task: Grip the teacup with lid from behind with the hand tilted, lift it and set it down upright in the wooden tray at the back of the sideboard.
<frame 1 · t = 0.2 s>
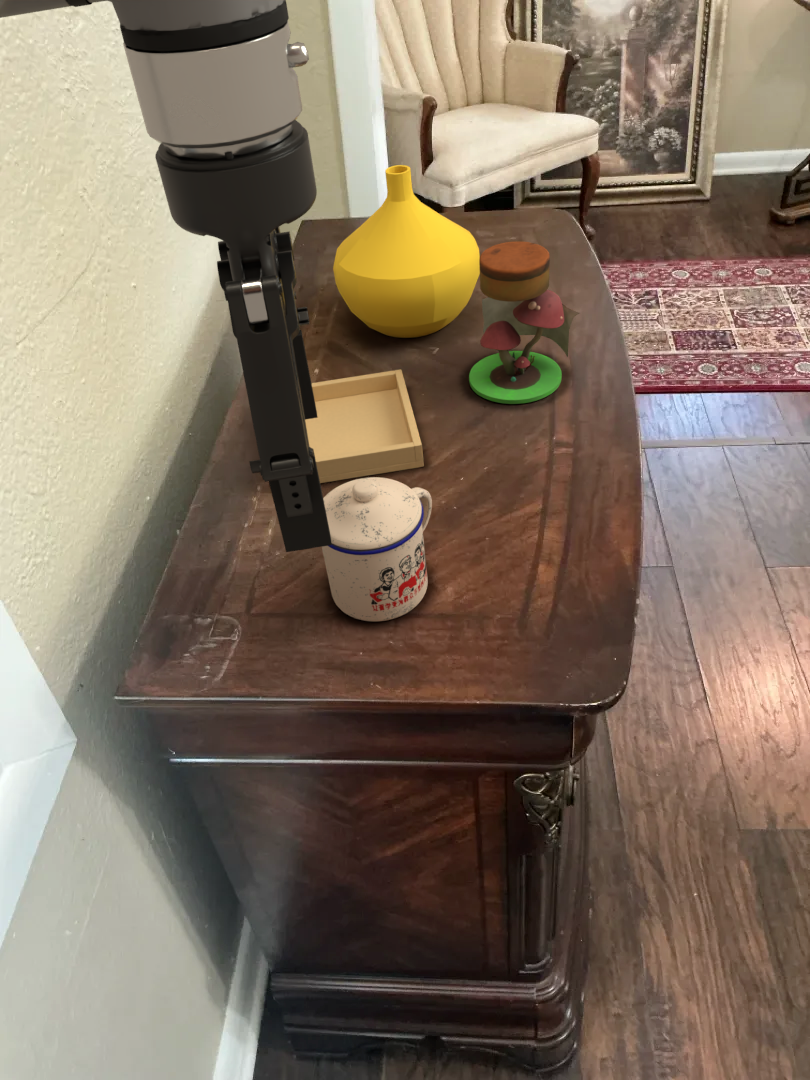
hand: (303, 475, 56), 20 cm above the table, tool pointing down, fingers open, 13 cm apart
vase: (411, 320, 113), on the table
wooden tray: (345, 436, 95), on the table
teacup with lid: (390, 579, 78), on the table
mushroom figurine: (519, 380, 100), on the table
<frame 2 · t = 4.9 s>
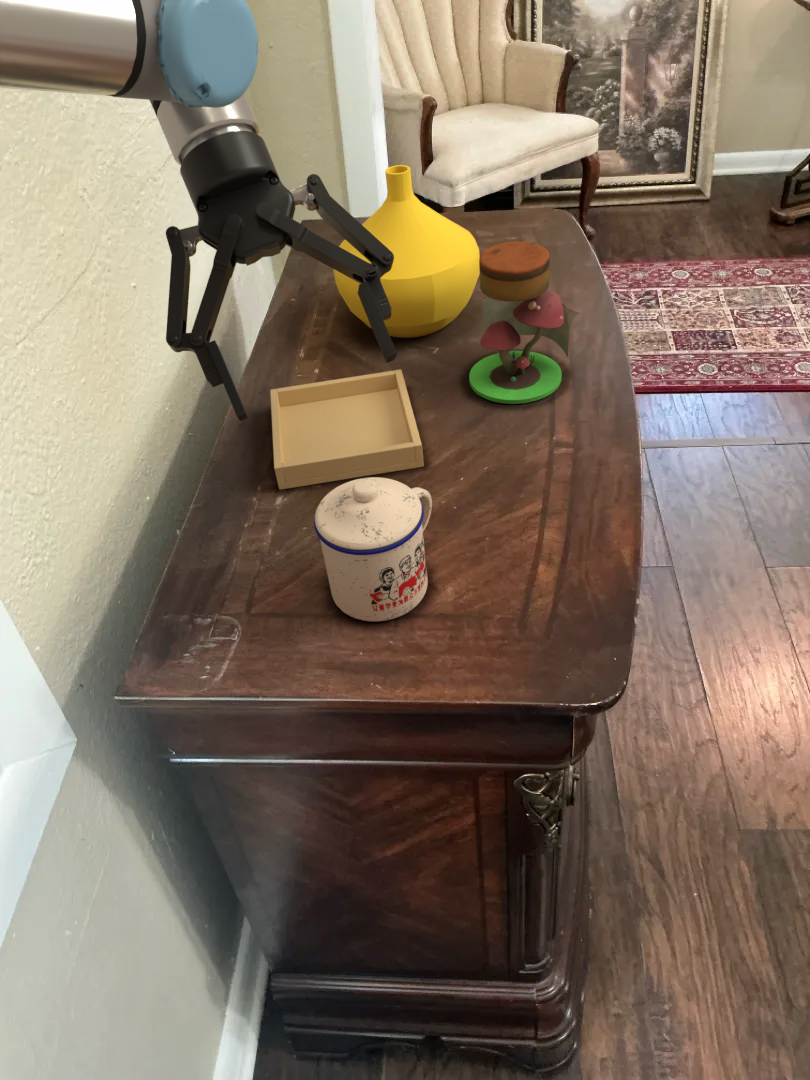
hand: (318, 388, 73), 16 cm above the table, tool tilted 40°, fingers open, 13 cm apart
nothing on the table moved.
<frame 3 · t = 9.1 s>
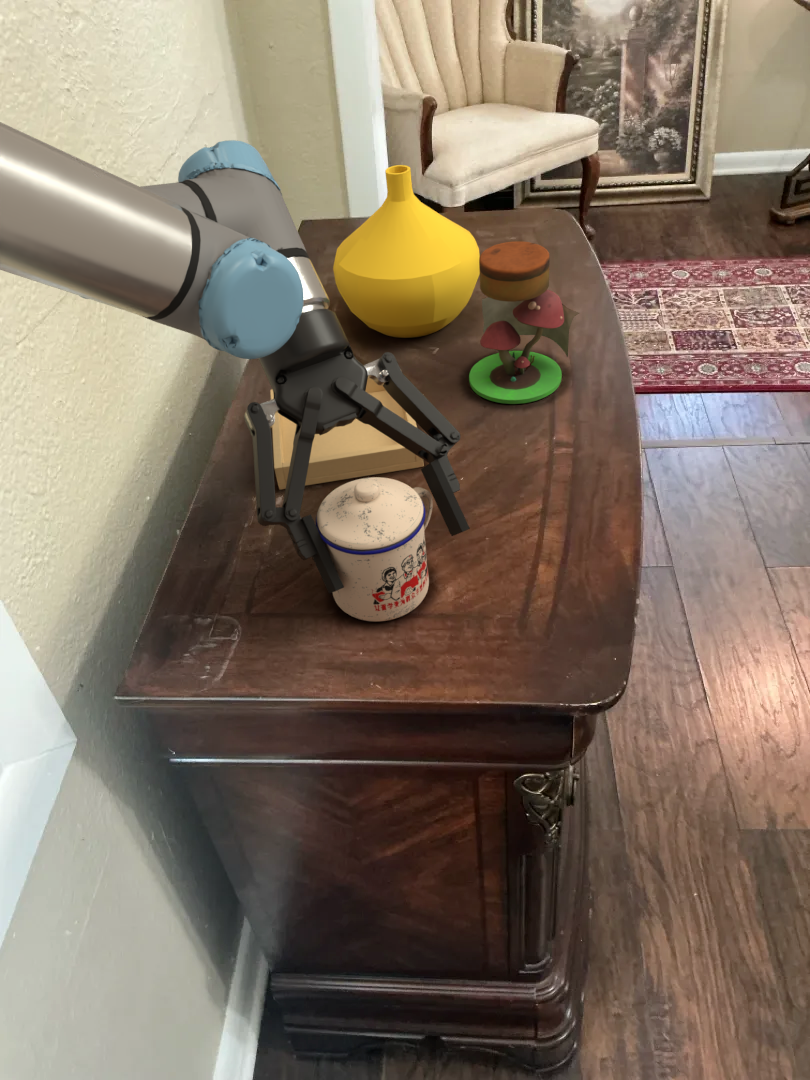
hand: (400, 561, 73), 4 cm above the table, tool tilted 45°, fingers closed on teacup with lid, 11 cm apart
teacup with lid: (391, 579, 78), on the table, touching gripper
everything else where it was.
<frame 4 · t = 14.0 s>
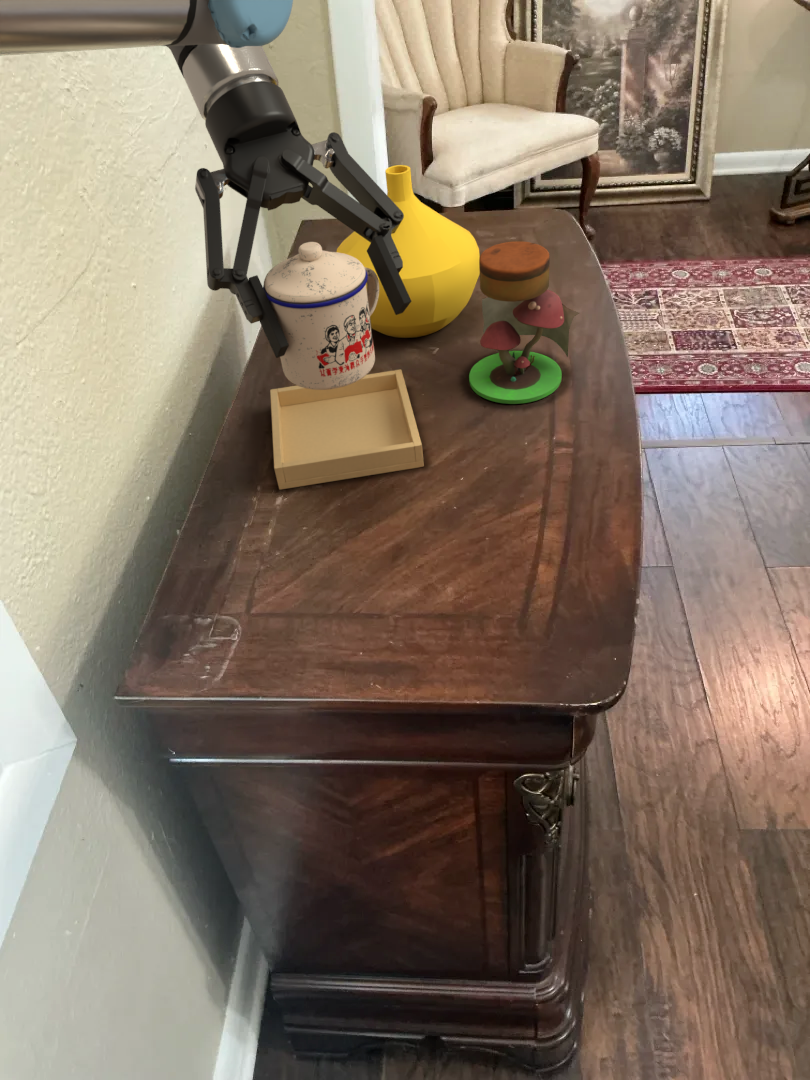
hand: (344, 329, 76), 18 cm above the table, tool tilted 45°, fingers closed on teacup with lid, 11 cm apart
teacup with lid: (340, 361, 81), point 13 cm above the table, touching gripper
everything else where it was.
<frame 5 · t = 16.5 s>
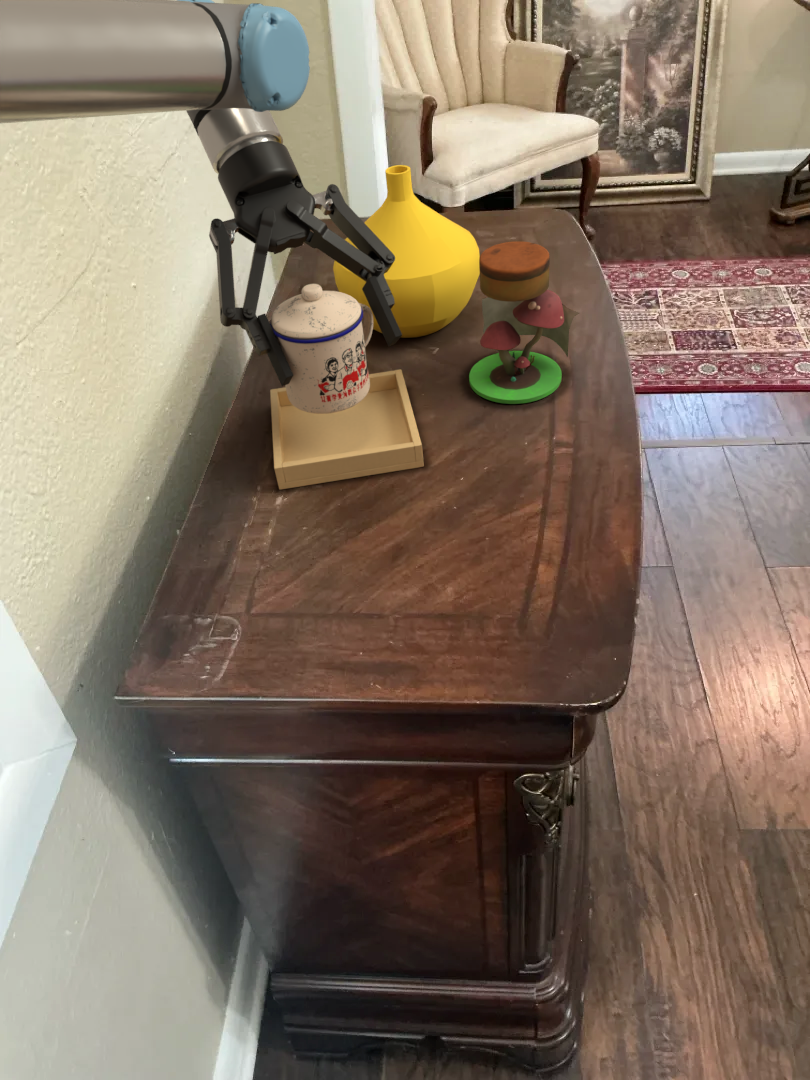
hand: (342, 360, 86), 11 cm above the table, tool tilted 45°, fingers closed on teacup with lid, 11 cm apart
teacup with lid: (338, 387, 90), point 6 cm above the table, touching gripper
everything else where it was.
when the fingers open (5 cm above the table, at t = 18.8 s): teacup with lid stays where it is, resting on wooden tray.
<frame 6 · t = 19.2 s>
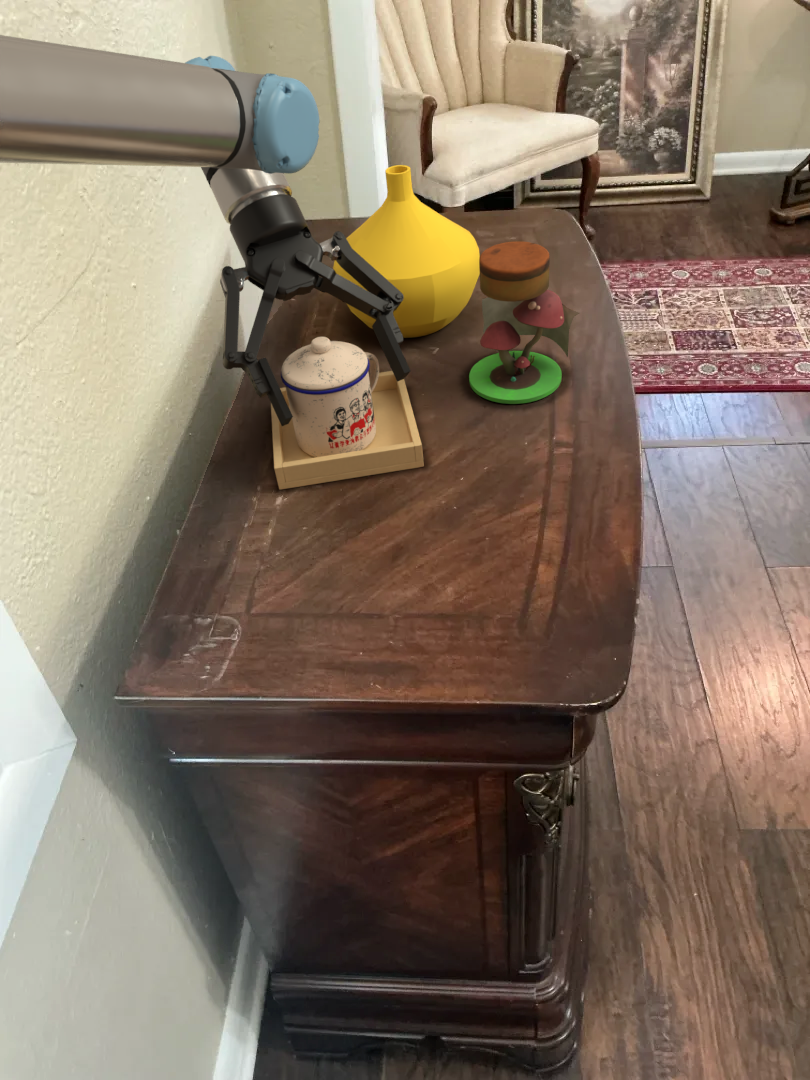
hand: (347, 398, 89), 6 cm above the table, tool tilted 45°, fingers open, 13 cm apart
teacup with lid: (346, 431, 94), point 1 cm above the table, touching wooden tray
everything else where it was.
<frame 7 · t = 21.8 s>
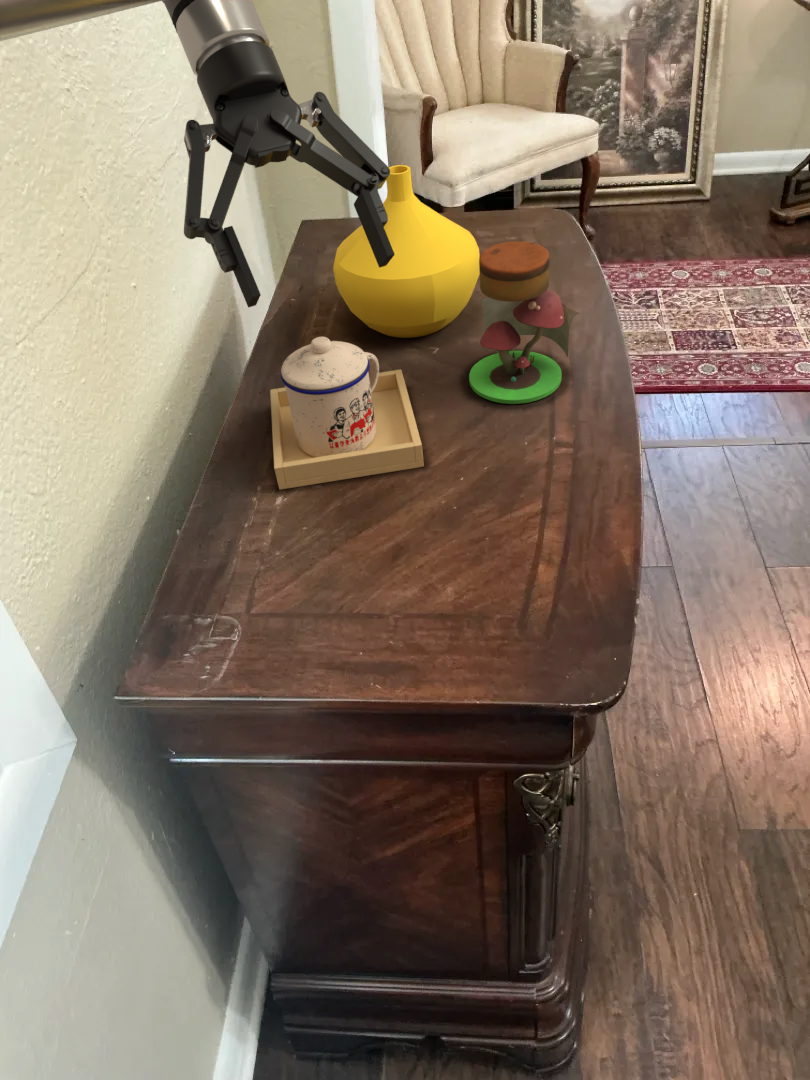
hand: (322, 281, 80), 19 cm above the table, tool tilted 40°, fingers open, 13 cm apart
nothing on the table moved.
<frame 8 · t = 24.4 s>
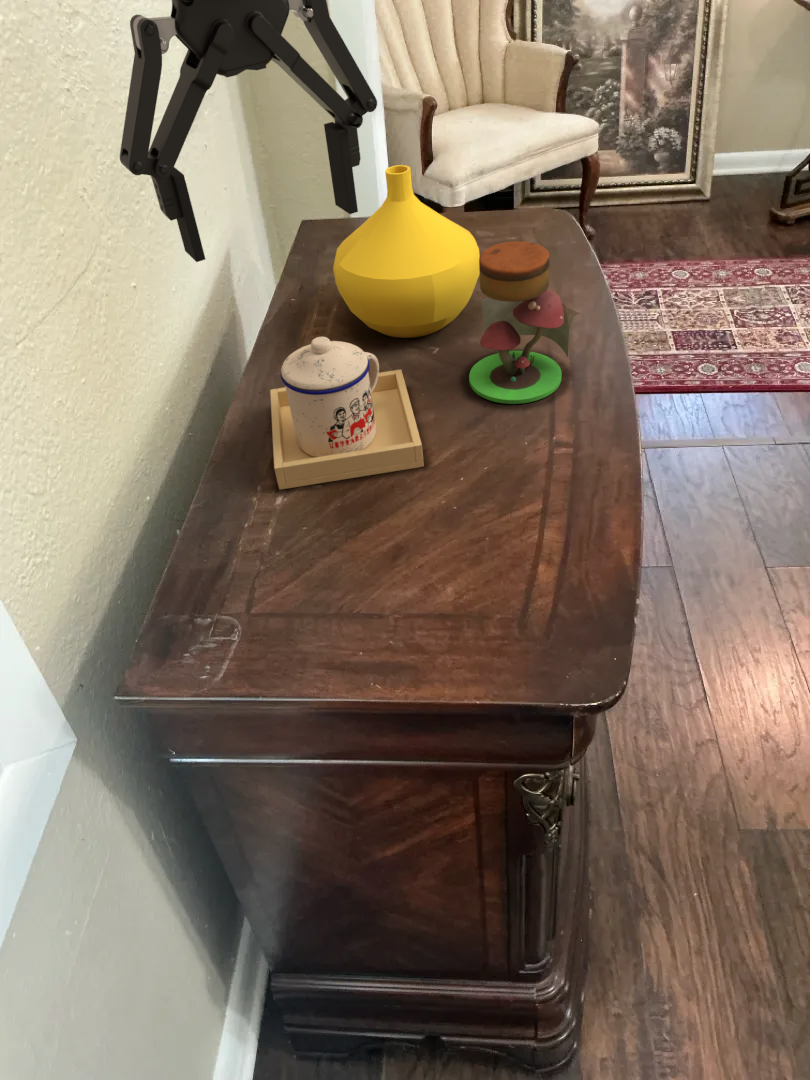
hand: (273, 231, 71), 27 cm above the table, tool pointing down, fingers open, 13 cm apart
nothing on the table moved.
at the end: teacup with lid inside the target area in the wooden tray (0.2 cm from its centre), point 0.6 cm above the wooden tray's base; teacup with lid tilted 0°; the gripper is holding nothing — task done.
